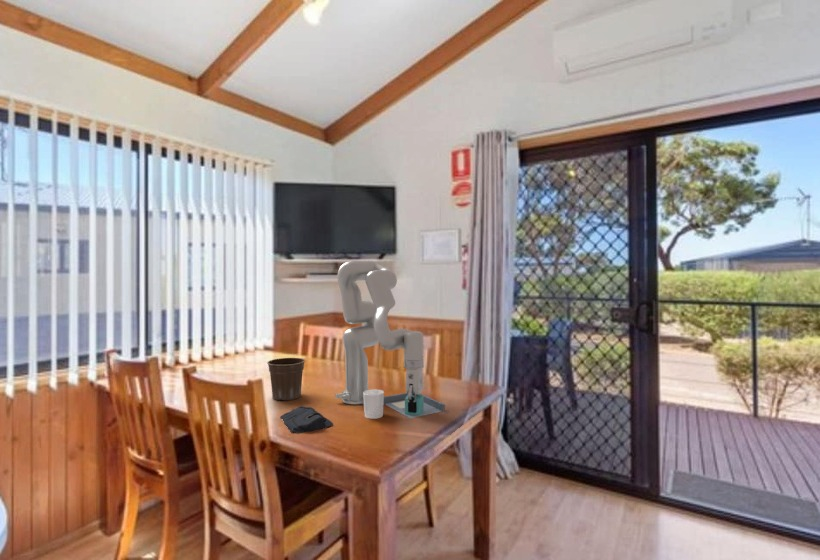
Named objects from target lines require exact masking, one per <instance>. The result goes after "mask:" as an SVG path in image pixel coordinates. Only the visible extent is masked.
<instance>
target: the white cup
mask: <svg viewBox="0 0 820 560" xmlns="http://www.w3.org/2000/svg"><path fill="white" fill-rule="evenodd" d="M384 391H385V390H383V389H375V388H374V389H368V390H367V391H364V392H363V400H364V404H363V409H364V410H363V411H364V418H367V419H369V420H370V419H371V420H376V419H380V418H382V417H383V416H384V405H385V404H384V397H385V392H384Z"/></svg>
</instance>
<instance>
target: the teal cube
mask: <svg viewBox="0 0 820 560" xmlns="http://www.w3.org/2000/svg"><path fill="white" fill-rule="evenodd" d="M423 395H424V394H423ZM423 395H416V409H417V412H416V413H411V412H408V395H407V397H406V398H405V414H410V415H421V413H422V412H423ZM412 397H413V398H414V396H412Z"/></svg>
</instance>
